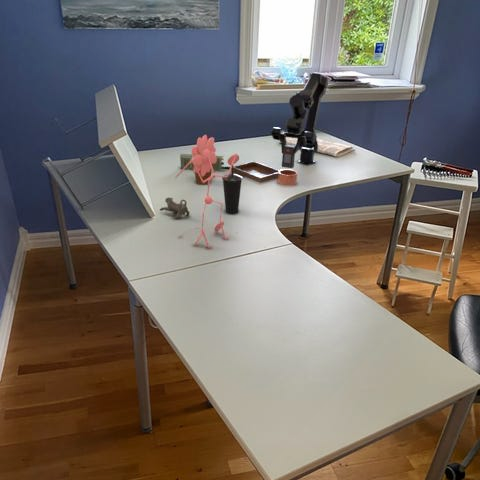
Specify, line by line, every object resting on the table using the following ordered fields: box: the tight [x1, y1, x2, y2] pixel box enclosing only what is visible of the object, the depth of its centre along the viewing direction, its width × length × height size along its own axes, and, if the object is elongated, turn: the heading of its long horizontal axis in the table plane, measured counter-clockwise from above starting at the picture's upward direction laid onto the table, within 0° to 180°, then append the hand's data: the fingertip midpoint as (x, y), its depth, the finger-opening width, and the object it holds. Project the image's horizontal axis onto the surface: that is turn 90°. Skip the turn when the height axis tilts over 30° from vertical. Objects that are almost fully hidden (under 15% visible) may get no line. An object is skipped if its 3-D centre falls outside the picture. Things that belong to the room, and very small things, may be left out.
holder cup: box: [277, 168, 298, 186], centre depth 218 cm, size 8×8×5 cm
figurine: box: [174, 134, 240, 249], centre depth 162 cm, size 15×26×35 cm, turn 142°
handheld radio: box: [179, 153, 230, 172], centre depth 230 cm, size 7×3×25 cm
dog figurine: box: [159, 197, 190, 220], centre depth 185 cm, size 12×6×7 cm, turn 53°
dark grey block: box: [281, 144, 296, 169], centre depth 212 cm, size 3×5×9 cm, turn 68°
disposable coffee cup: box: [192, 155, 212, 185], centre depth 215 cm, size 10×10×12 cm
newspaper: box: [277, 137, 355, 157], centre depth 266 cm, size 37×19×3 cm, turn 50°
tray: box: [233, 160, 281, 184], centre depth 227 cm, size 14×19×3 cm
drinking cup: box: [221, 165, 243, 215], centre depth 186 cm, size 8×8×20 cm
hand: (287, 153), depth 211 cm, fingers closed on dark grey block, 5 cm apart
